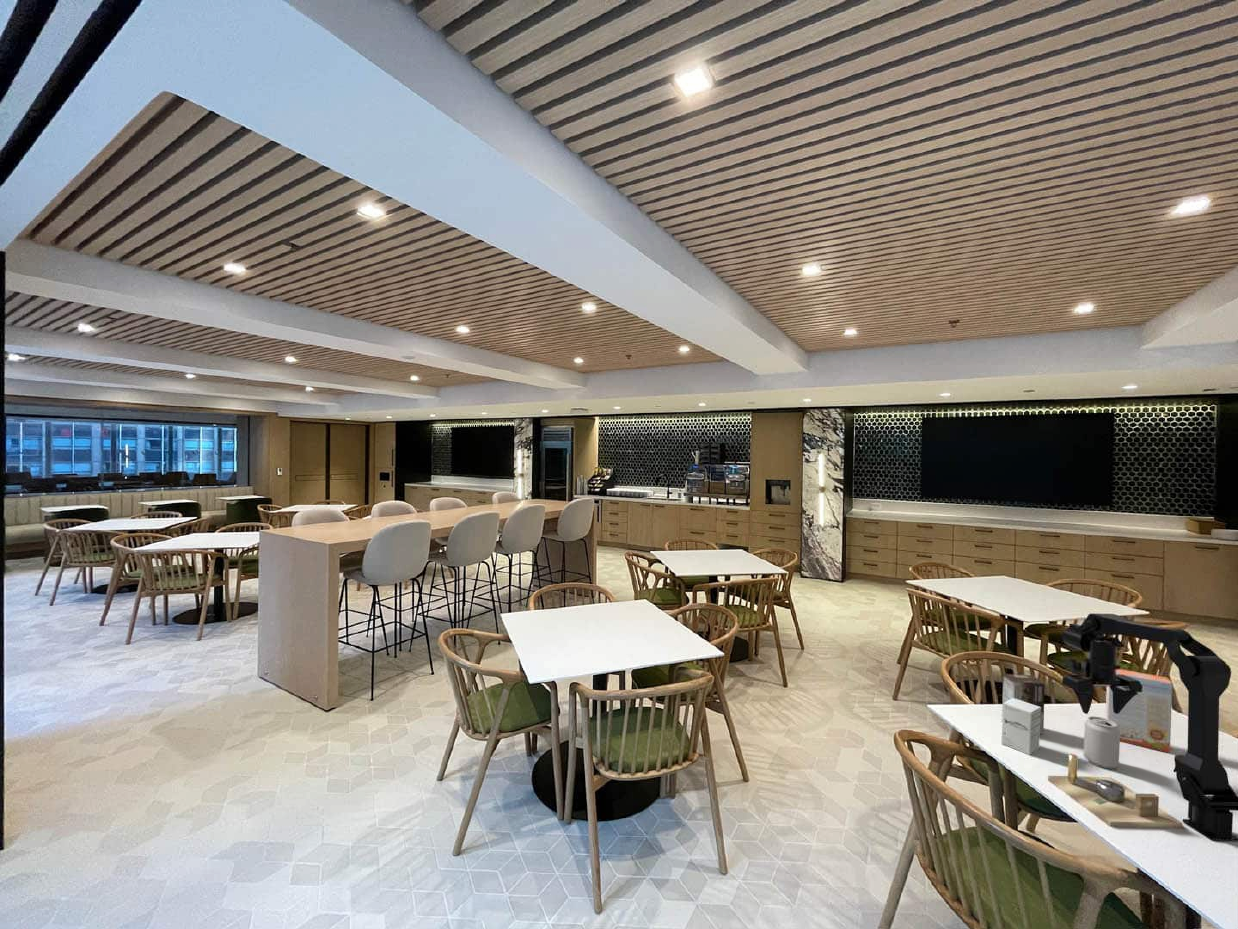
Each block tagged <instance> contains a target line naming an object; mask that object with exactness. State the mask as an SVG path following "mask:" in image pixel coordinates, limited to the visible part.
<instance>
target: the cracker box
mask: <svg viewBox="0 0 1238 929" xmlns="http://www.w3.org/2000/svg"><path fill="white" fill-rule="evenodd" d="M1116 675H1125V676H1128V677H1130V678H1133V679H1135V680H1138V681H1139V682H1140V683H1141V685H1142V692H1137V693H1138V694H1137V695H1135V696H1134V697H1133V698H1132V699H1131V700H1130V701H1129V702H1128V703H1127V704H1126V705H1125V706H1124V708H1123V709H1122V710H1121V711H1120V713H1119V714H1116V713H1114V711H1113V692H1112V690H1111V688H1110V687H1109V686H1106V693H1105V695H1106V697H1105V698H1106V701H1105V719H1108V720H1110V721H1113V722H1114V723H1116V724H1117V728H1118V729H1119V730H1120V742H1123V743H1127V744H1132V745H1136V746H1140V747H1143V748H1148V749H1151V750H1152V749H1153V750H1157V751H1160V752H1165V753H1168V754H1169V753H1171V739H1172V738H1171V735H1172V734H1171V733H1172V731H1171V730H1172V706H1173V705H1172V703H1173V702H1172V701H1173V700H1172V698H1173V683H1172V682H1171V680H1170V679H1169V678H1168V677H1166V676H1160V675H1155V674H1149V673H1143V672H1139V671H1138V672H1137V671H1132V670H1128V669H1127V670H1126V669H1121V668H1120V669H1116Z"/></svg>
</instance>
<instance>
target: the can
mask: <svg viewBox="0 0 1238 929" xmlns="http://www.w3.org/2000/svg"><path fill="white" fill-rule="evenodd" d="M1083 732H1084V734H1083V757H1084V758H1085V759H1086V760H1087V762H1089V763H1091V764H1092V765H1094V766H1097V767H1099V768H1104V769H1107V770H1109V769H1110V770H1111V769H1114V768H1118V767H1119V764H1120V747H1121V744H1120V743H1121V741H1120V730H1119V729H1118V728H1117V724H1116V723H1114V722H1113V721H1110V720H1108V719H1106V717H1100V716H1095V715H1094V716H1093V715H1092V716H1088V717H1087V720H1085V721H1084V731H1083Z"/></svg>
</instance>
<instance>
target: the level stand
mask: <svg viewBox="0 0 1238 929" xmlns="http://www.w3.org/2000/svg"><path fill="white" fill-rule="evenodd" d="M1077 778H1080V779H1082V780H1085V781H1088V782H1091V783H1093V784H1096V781H1097V780H1107V781H1111V782H1114V783H1116V784H1118V785H1120V786H1122V787H1123V788H1124V789H1125V801H1124V802H1123V803H1116V802H1112V801H1109V800H1107V799H1105V798H1103V797H1101V796H1100V795H1099V794H1097V793H1096V791H1094V790H1091V789H1088V788H1086V787H1083V786H1080V785H1078V784H1074V783H1071V782H1069V781H1068V775H1047V781H1048V782H1050V784H1052V785H1053V786H1054V787H1056V786H1057V789H1060V791H1062V792H1063V793H1064V792H1065V794H1066V796H1069V797H1070V798H1071V799H1072V800H1074V801H1075V802H1076V803H1078V804H1079V803H1080V804H1079V805H1080V806H1082V807H1083V808H1085V809H1086V810H1087V811H1089V812H1090V813H1091V814H1092V815H1094V816H1096V818H1098V819H1099V820H1101V821H1102V822H1103V823H1105V824H1106V825H1108V826H1109V827H1114V828H1116V827H1117V828H1118V827H1120V828H1121V827H1122V828H1168V829H1169V828H1173V829H1175V828H1176V829H1181V828H1183V821H1180V820H1179V819H1177V818H1176V817H1175V816H1172V815H1171V814H1169V813H1168V812H1167V811H1165V810H1163V809H1162V808H1160V807H1159V806H1160V805H1159V802H1160V800H1159V799H1160V797H1159V796H1158V795H1157V794H1155V793H1138V792H1135V791H1133V790H1132V789H1130V788H1129V787H1127V786H1126V785H1124V784H1123V783H1121V782H1120V781H1118V780H1116V779H1115V778H1114V777H1112V776H1084V775H1083V776H1081V775H1079V776H1078V775H1077Z"/></svg>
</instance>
